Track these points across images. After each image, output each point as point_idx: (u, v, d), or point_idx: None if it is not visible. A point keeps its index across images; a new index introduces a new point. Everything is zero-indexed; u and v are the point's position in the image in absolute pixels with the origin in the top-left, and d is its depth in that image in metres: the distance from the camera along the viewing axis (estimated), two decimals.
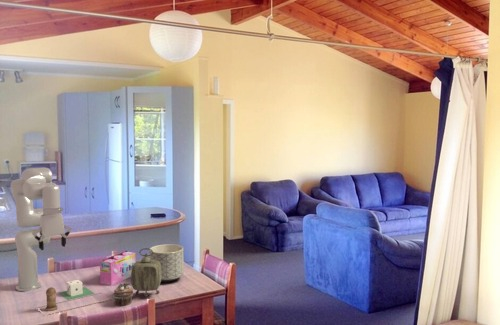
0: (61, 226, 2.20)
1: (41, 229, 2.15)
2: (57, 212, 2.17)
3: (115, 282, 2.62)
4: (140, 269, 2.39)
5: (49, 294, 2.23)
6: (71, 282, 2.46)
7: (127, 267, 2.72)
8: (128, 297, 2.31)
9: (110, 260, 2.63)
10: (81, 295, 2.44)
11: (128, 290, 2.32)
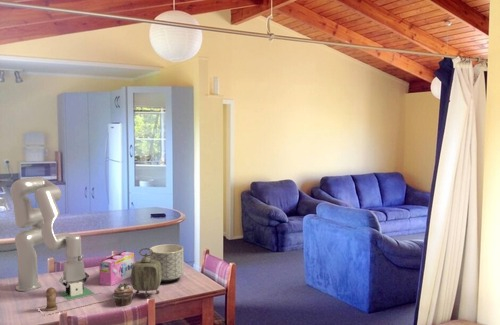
0: (82, 271, 2.47)
1: (65, 275, 2.42)
2: (79, 259, 2.44)
3: (114, 282, 2.62)
4: (140, 269, 2.39)
5: (49, 294, 2.23)
6: (71, 282, 2.46)
7: (126, 267, 2.72)
8: (128, 297, 2.31)
9: (109, 260, 2.63)
10: (81, 295, 2.44)
11: (128, 290, 2.32)
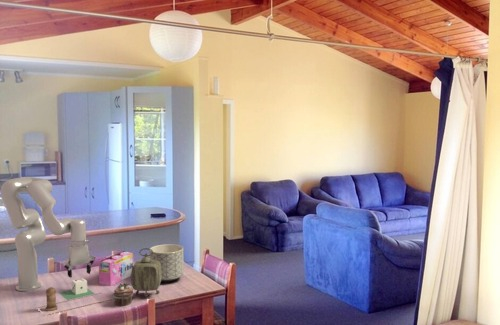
0: (87, 256, 2.49)
1: (70, 259, 2.44)
2: (83, 244, 2.46)
3: (114, 282, 2.62)
4: (140, 269, 2.39)
5: (49, 294, 2.23)
6: (76, 280, 2.49)
7: (125, 267, 2.72)
8: (128, 297, 2.31)
9: (109, 260, 2.63)
10: (81, 295, 2.44)
11: (128, 290, 2.32)
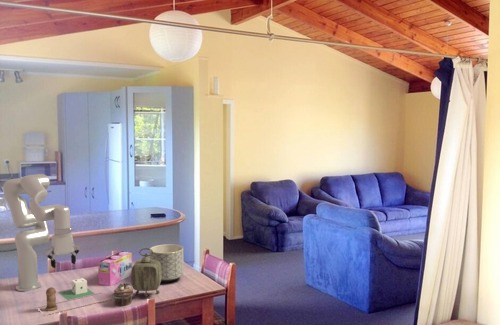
0: (71, 245, 2.34)
1: (53, 248, 2.29)
2: (68, 232, 2.32)
3: (114, 282, 2.62)
4: (140, 269, 2.39)
5: (49, 294, 2.23)
6: (76, 280, 2.49)
7: (124, 267, 2.72)
8: (128, 297, 2.31)
9: (108, 260, 2.63)
10: (81, 295, 2.44)
11: (128, 290, 2.32)
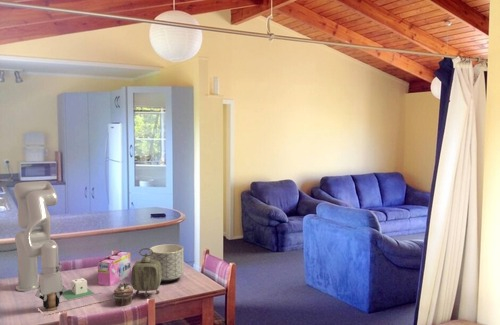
0: (59, 283, 2.26)
1: (40, 287, 2.21)
2: (55, 270, 2.23)
3: (113, 282, 2.62)
4: (140, 269, 2.39)
5: (49, 294, 2.23)
6: (76, 280, 2.49)
7: (123, 267, 2.72)
8: (128, 297, 2.31)
9: (107, 260, 2.63)
10: (81, 295, 2.44)
11: (128, 290, 2.32)
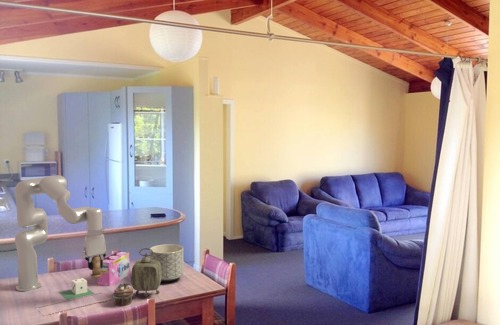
0: (103, 246, 2.38)
1: (86, 249, 2.34)
2: (100, 233, 2.36)
3: (113, 282, 2.62)
4: (140, 269, 2.39)
5: (95, 261, 2.36)
6: (76, 280, 2.49)
7: (123, 267, 2.72)
8: (128, 297, 2.31)
9: (107, 261, 2.63)
10: (81, 295, 2.44)
11: (128, 290, 2.32)
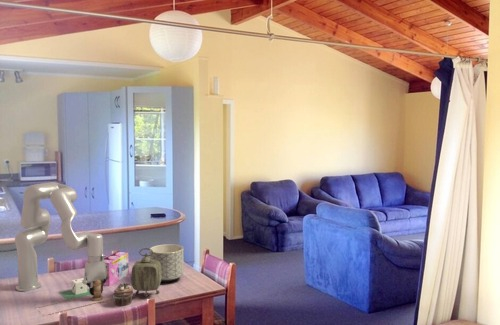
0: (104, 271, 2.40)
1: (86, 275, 2.35)
2: (101, 259, 2.37)
3: (112, 282, 2.62)
4: (140, 269, 2.39)
5: (96, 285, 2.36)
6: (76, 280, 2.49)
7: (122, 268, 2.72)
8: (128, 297, 2.31)
9: (106, 261, 2.62)
10: (81, 295, 2.44)
11: (128, 290, 2.32)
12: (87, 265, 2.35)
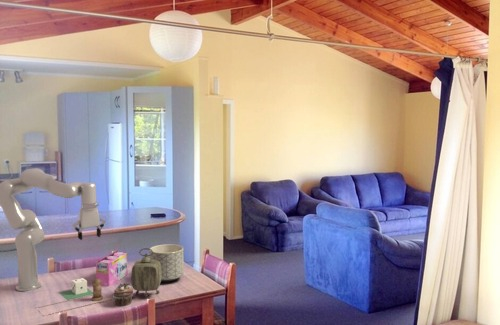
0: (97, 219, 2.51)
1: (80, 221, 2.46)
2: (94, 207, 2.48)
3: (112, 283, 2.62)
4: (140, 270, 2.39)
5: (96, 284, 2.37)
6: (76, 280, 2.49)
7: (121, 268, 2.72)
8: (128, 297, 2.31)
9: (106, 261, 2.62)
10: (81, 295, 2.44)
11: (128, 290, 2.32)
12: (81, 212, 2.47)
